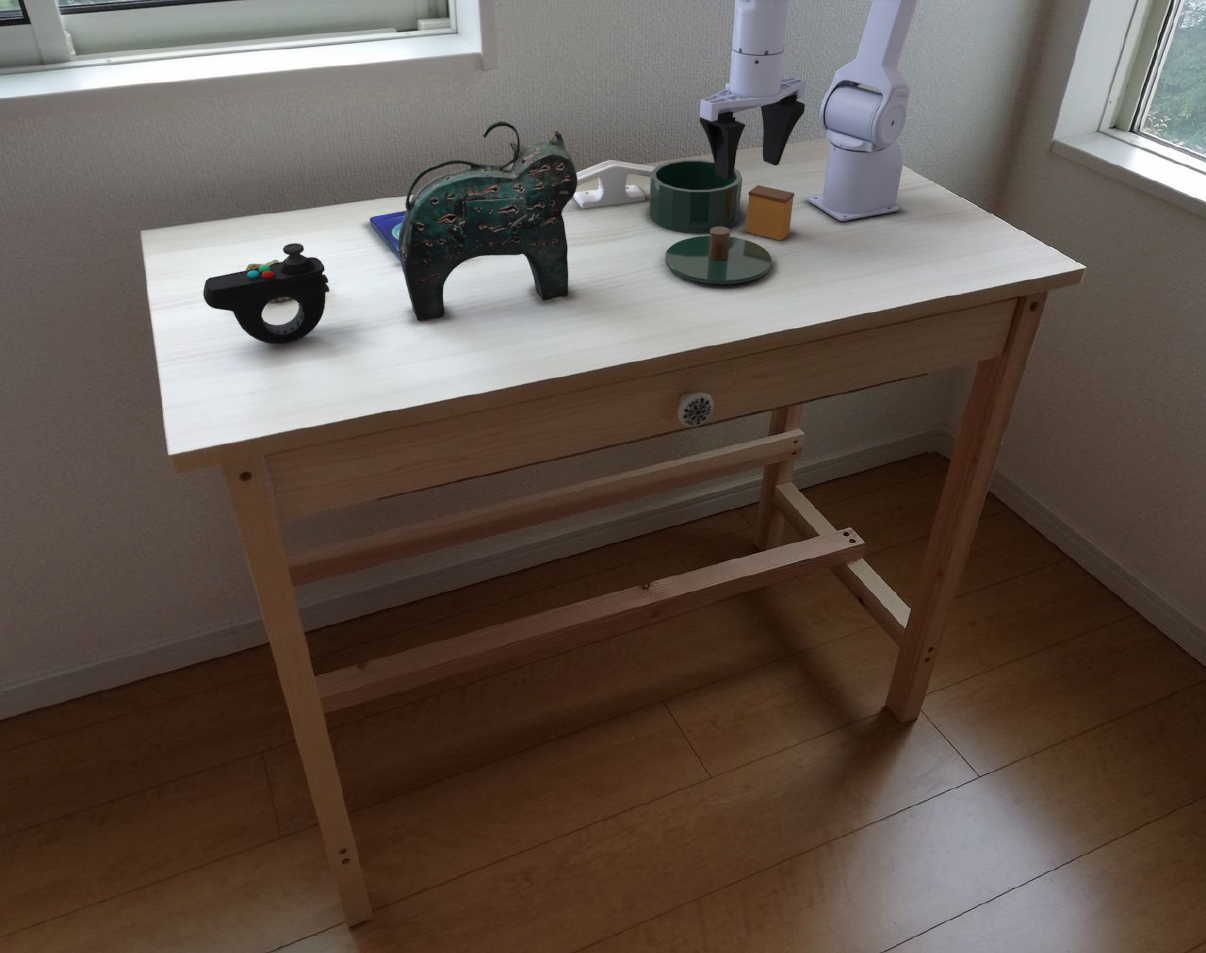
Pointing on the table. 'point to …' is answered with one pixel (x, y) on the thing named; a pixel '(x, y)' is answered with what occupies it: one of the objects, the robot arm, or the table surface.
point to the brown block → (769, 212)
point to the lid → (718, 258)
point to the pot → (693, 196)
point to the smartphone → (389, 229)
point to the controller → (273, 295)
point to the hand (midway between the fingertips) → (747, 169)
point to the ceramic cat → (489, 220)
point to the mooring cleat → (611, 184)
